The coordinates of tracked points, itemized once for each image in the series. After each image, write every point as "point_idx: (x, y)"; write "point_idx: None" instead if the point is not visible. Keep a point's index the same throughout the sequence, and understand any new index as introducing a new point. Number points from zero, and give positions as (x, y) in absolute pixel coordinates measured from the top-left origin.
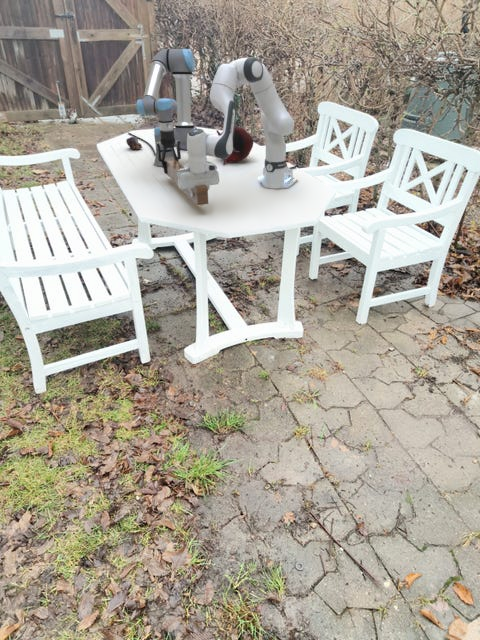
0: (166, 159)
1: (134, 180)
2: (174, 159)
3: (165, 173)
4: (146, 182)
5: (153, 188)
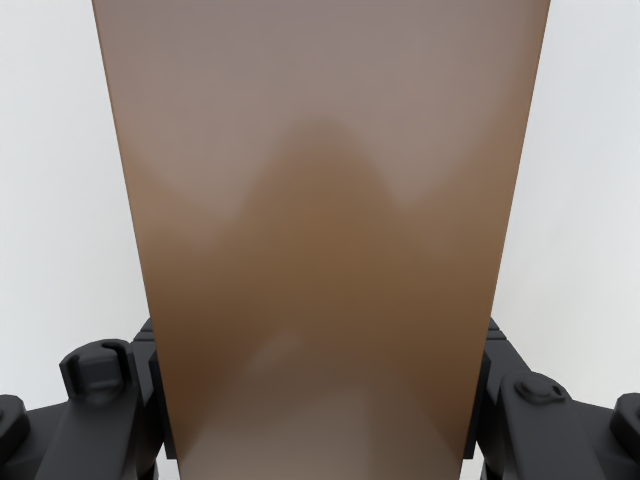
0: (410, 468)
1: None
2: (180, 385)
3: None
4: (563, 327)
5: (604, 89)
